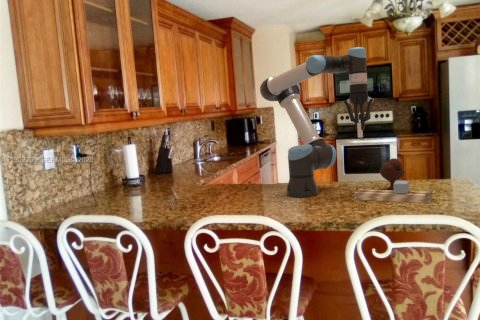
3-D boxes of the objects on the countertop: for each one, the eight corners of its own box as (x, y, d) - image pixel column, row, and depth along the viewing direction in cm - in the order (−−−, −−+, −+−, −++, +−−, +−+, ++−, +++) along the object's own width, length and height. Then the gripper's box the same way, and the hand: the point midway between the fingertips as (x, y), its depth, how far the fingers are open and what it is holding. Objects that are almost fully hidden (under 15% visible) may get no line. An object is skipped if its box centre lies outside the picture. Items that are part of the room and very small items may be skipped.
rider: (393, 197, 170) (393, 183, 169) (397, 194, 176) (396, 180, 175) (406, 198, 168) (406, 183, 167) (409, 194, 173) (409, 181, 173)
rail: (354, 199, 178) (354, 190, 178) (359, 195, 185) (359, 187, 185) (430, 203, 163) (429, 193, 162) (432, 198, 169) (432, 189, 169)
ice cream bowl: (400, 187, 198) (399, 156, 196) (407, 191, 187) (407, 159, 185) (378, 188, 199) (377, 157, 197) (383, 192, 188) (382, 160, 186)
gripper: (341, 85, 180) (343, 138, 183) (371, 82, 173) (373, 137, 176) (346, 85, 187) (348, 137, 189) (375, 82, 180) (377, 136, 182)
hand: (360, 137), depth 183 cm, fingers closed
